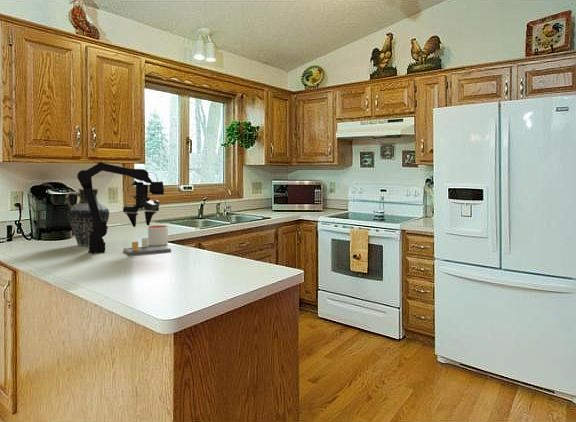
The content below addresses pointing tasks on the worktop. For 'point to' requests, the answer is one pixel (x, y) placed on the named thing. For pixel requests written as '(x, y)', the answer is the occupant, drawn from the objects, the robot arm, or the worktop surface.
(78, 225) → the dark patterned vase
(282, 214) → the worktop surface
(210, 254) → the worktop surface
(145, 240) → the fader
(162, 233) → the cup
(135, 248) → the fader
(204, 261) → the worktop surface
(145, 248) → the grey rectangular panel
